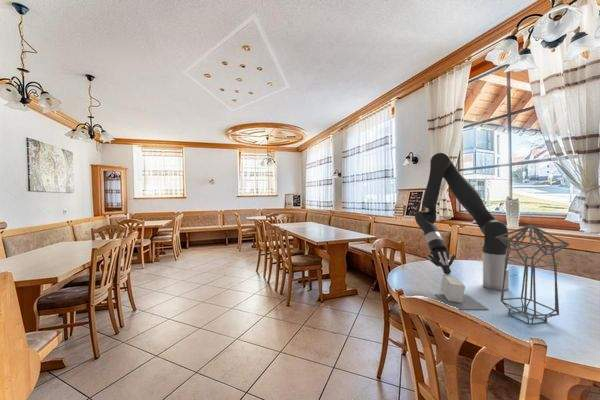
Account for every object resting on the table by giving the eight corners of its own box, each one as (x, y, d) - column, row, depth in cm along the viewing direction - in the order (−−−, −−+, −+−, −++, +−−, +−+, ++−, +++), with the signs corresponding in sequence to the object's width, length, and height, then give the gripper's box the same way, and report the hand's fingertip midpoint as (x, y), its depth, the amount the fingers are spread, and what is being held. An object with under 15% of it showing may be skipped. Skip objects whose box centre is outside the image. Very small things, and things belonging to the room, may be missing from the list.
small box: (452, 291, 116) (462, 303, 106) (439, 289, 117) (448, 301, 107) (455, 275, 115) (465, 286, 105) (442, 273, 116) (451, 283, 106)
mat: (466, 295, 115) (466, 294, 115) (488, 310, 100) (488, 309, 100) (435, 294, 116) (435, 294, 116) (452, 309, 101) (452, 308, 101)
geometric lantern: (524, 307, 102) (527, 222, 100) (570, 329, 86) (575, 228, 85) (490, 310, 100) (492, 223, 98) (530, 332, 84) (534, 229, 83)
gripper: (424, 238, 125) (435, 270, 113) (451, 238, 124) (466, 269, 112) (420, 246, 131) (430, 277, 119) (446, 246, 130) (459, 277, 118)
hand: (448, 273), depth 116 cm, fingers closed
